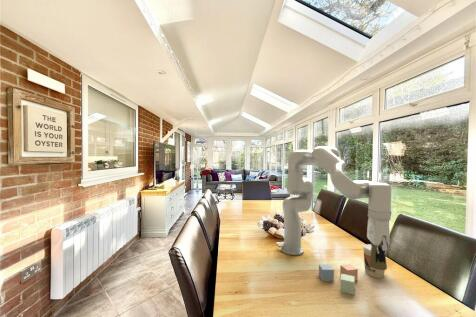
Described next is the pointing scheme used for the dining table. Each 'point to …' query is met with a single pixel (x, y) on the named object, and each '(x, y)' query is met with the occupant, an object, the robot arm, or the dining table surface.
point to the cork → (377, 260)
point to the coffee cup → (368, 268)
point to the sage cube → (347, 283)
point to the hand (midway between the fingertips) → (377, 260)
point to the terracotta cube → (349, 271)
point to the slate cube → (326, 272)
